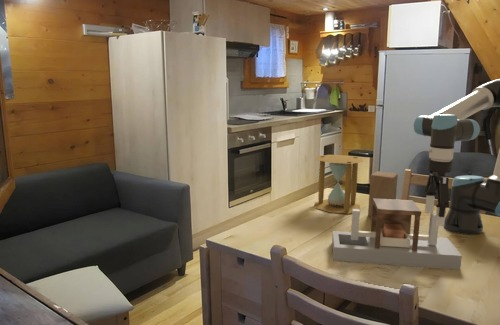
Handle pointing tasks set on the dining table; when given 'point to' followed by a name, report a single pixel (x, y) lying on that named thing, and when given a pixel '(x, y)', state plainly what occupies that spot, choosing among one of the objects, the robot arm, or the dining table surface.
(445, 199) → the robot arm
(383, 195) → the wooden block
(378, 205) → the tunnel
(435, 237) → the slider
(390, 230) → the block
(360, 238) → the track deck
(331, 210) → the hourglass
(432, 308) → the dining table surface
